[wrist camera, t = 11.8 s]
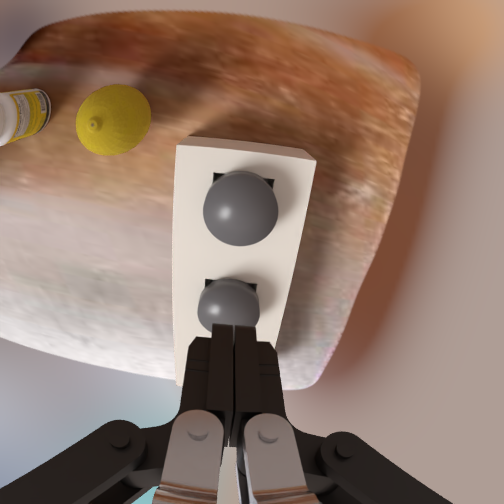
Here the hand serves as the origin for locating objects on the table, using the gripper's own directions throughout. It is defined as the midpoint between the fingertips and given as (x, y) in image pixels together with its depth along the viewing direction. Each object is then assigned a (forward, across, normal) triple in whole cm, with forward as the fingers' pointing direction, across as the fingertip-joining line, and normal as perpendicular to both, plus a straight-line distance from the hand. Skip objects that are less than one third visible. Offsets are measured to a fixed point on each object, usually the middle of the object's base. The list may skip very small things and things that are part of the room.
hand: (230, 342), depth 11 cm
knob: (+18, 0, 0) cm, 18 cm away
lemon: (+19, +10, -6) cm, 22 cm away
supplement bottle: (+19, +21, -7) cm, 29 cm away
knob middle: (+18, 0, +9) cm, 20 cm away
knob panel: (+19, 0, +9) cm, 21 cm away
